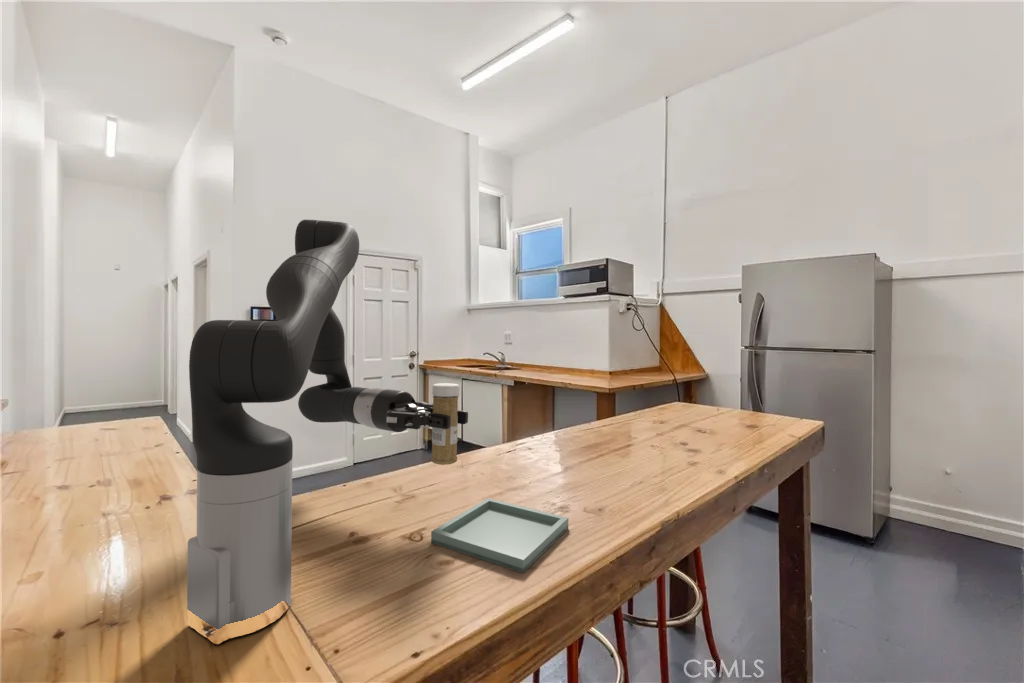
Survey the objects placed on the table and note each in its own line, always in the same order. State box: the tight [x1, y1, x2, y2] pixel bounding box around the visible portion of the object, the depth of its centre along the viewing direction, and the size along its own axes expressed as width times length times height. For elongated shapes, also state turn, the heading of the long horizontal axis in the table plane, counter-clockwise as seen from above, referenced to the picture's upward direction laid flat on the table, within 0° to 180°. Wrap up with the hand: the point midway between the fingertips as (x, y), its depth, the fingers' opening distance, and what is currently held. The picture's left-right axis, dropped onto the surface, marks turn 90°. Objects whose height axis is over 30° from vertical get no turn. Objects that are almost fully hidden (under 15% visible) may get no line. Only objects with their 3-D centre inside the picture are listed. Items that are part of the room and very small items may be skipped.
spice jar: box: [430, 382, 460, 466], centre depth 76 cm, size 5×5×13 cm
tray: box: [430, 497, 569, 574], centre depth 71 cm, size 16×16×2 cm
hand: (457, 420), depth 75 cm, fingers closed on spice jar, 4 cm apart
